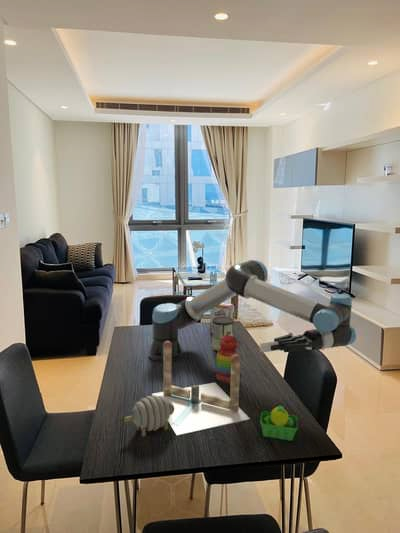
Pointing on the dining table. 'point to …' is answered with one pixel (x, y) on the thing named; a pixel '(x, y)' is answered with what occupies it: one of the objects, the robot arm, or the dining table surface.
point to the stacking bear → (225, 358)
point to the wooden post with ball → (167, 386)
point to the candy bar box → (221, 312)
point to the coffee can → (221, 330)
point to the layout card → (200, 411)
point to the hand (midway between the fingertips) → (261, 348)
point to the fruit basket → (279, 424)
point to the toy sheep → (151, 413)
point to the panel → (234, 389)
